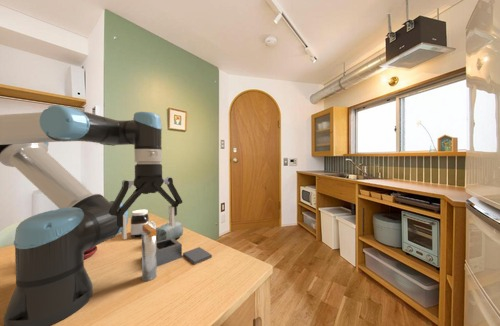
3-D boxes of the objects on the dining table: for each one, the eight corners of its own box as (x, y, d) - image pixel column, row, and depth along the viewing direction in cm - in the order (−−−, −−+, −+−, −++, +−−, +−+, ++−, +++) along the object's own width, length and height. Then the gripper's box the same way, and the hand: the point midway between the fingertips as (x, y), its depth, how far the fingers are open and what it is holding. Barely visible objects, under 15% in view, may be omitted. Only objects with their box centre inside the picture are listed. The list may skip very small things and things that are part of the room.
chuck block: (156, 266, 65) (156, 252, 65) (148, 257, 71) (148, 244, 71) (181, 257, 71) (181, 244, 71) (172, 249, 78) (171, 237, 77)
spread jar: (132, 232, 96) (132, 209, 96) (157, 228, 101) (156, 207, 101) (128, 241, 85) (128, 215, 85) (156, 237, 90) (156, 212, 90)
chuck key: (146, 286, 55) (145, 232, 55) (138, 274, 61) (138, 226, 60) (160, 279, 58) (160, 229, 57) (152, 269, 63) (151, 223, 63)
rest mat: (194, 264, 66) (194, 261, 66) (183, 255, 73) (183, 252, 72) (211, 257, 71) (211, 254, 71) (199, 249, 77) (199, 247, 77)
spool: (163, 242, 76) (161, 218, 81) (149, 249, 80) (147, 225, 84) (189, 239, 88) (186, 218, 92) (176, 245, 91) (173, 224, 95)
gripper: (99, 164, 47) (101, 248, 48) (191, 162, 65) (192, 224, 65) (95, 164, 53) (97, 239, 53) (182, 162, 70) (182, 219, 70)
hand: (149, 231), depth 59 cm, fingers open, 13 cm apart
